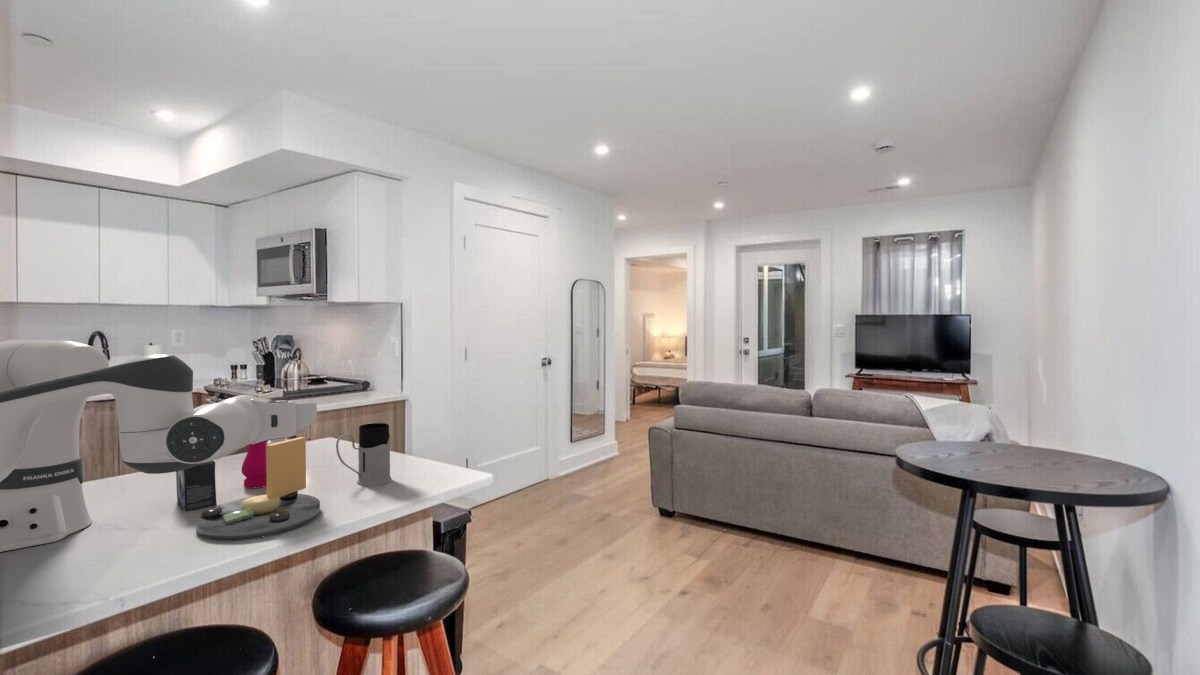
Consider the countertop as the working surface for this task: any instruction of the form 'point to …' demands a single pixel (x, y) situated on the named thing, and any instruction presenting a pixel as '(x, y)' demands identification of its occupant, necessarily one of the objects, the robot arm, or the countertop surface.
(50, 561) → the countertop surface
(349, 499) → the countertop surface
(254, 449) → the pepper mill
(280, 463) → the tan slab with dome
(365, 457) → the glass holder
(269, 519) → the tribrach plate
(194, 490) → the small box
